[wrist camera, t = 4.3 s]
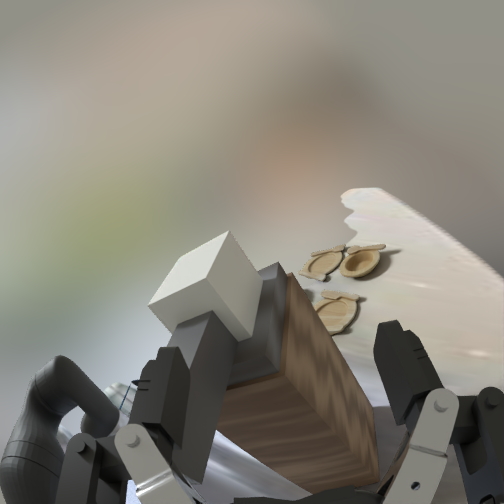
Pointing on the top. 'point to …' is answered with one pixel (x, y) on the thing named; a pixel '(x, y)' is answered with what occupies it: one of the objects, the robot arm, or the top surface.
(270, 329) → the wood-grain topped box
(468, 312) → the top surface
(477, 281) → the top surface
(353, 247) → the tableware set
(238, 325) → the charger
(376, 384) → the top surface
